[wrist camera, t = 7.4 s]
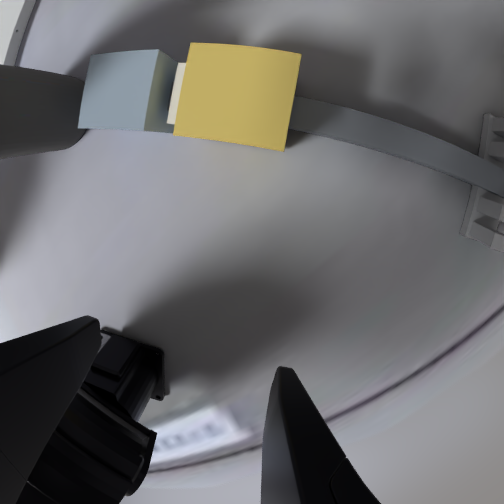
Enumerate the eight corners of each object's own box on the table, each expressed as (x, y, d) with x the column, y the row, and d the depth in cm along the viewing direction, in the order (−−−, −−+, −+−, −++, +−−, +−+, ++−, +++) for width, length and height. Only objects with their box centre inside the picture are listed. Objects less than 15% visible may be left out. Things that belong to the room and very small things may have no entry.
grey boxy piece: (510, 129, 14) (540, 131, 11) (486, 242, 17) (513, 259, 14) (483, 114, 14) (514, 111, 11) (459, 233, 17) (486, 250, 14)
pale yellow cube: (297, 78, 15) (301, 54, 11) (284, 151, 17) (283, 151, 12) (214, 67, 15) (190, 42, 11) (201, 138, 17) (172, 135, 12)
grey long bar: (506, 158, 15) (544, 164, 11) (494, 213, 16) (530, 230, 12) (123, 69, 16) (87, 55, 12) (112, 129, 18) (74, 128, 13)
